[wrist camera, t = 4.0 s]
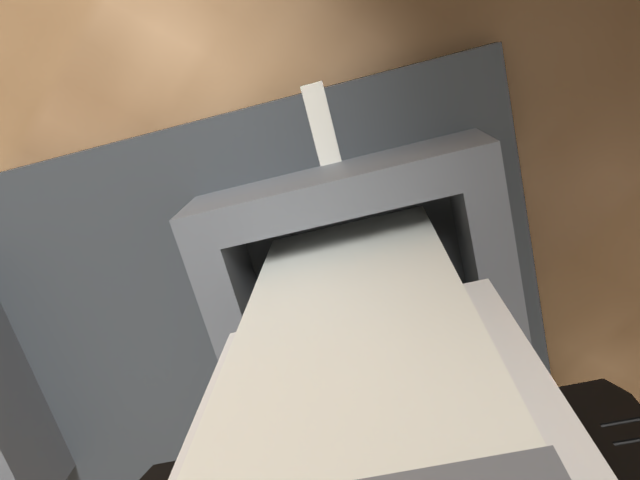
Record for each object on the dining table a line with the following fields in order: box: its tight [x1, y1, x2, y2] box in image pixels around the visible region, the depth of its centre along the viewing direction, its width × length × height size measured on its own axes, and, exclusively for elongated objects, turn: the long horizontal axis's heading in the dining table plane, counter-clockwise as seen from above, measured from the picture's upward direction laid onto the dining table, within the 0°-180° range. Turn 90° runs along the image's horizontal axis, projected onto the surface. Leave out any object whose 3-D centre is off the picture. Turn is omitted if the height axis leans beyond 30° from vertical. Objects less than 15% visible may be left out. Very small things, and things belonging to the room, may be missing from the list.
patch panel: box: [0, 42, 551, 480], centre depth 17 cm, size 12×25×3 cm, turn 104°
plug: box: [177, 206, 571, 480], centre depth 11 cm, size 5×4×11 cm
